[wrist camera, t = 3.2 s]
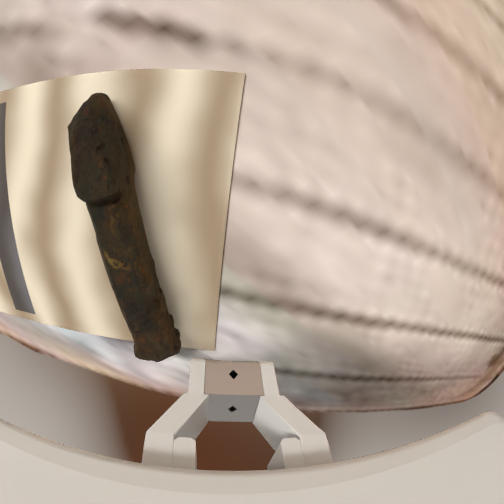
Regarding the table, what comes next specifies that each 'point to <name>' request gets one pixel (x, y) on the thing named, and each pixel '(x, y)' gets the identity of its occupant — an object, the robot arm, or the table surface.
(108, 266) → the hand tool
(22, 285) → the sheet
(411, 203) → the table surface
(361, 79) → the table surface
